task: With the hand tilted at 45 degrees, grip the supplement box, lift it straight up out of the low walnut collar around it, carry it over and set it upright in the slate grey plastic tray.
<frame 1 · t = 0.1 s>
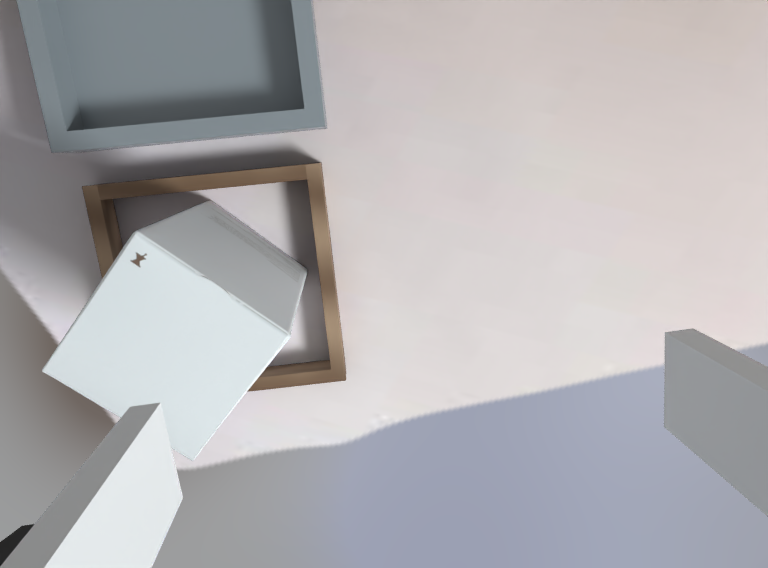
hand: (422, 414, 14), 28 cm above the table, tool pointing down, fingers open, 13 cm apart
supplement box: (227, 281, 42), resting in walnut collar
grey tray: (181, 5, 37), on the table
walnut collar: (227, 282, 42), on the table
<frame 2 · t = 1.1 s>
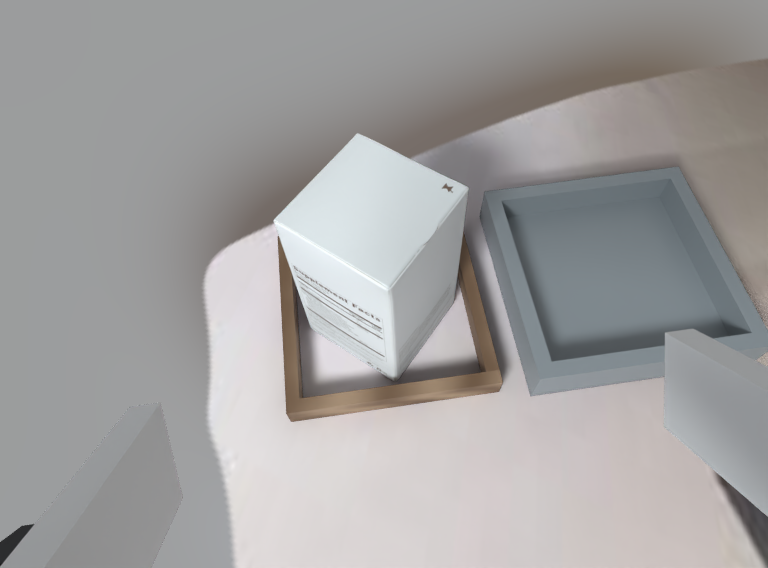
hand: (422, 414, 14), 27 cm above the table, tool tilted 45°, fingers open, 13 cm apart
supplement box: (381, 315, 47), resting in walnut collar
grey tray: (603, 283, 47), on the table
walnut collar: (381, 314, 47), on the table
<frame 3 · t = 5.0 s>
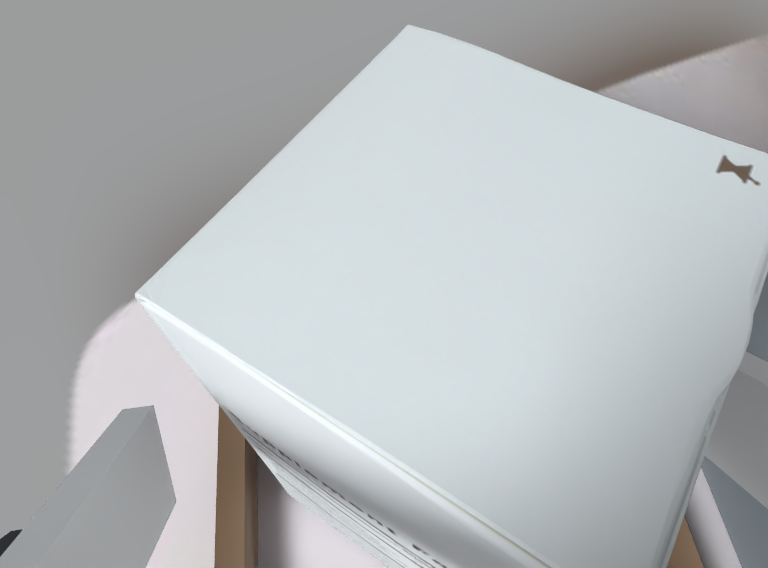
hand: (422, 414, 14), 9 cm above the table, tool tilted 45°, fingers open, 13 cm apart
supplement box: (436, 457, 22), resting in walnut collar, touching gripper
walnut collar: (433, 459, 22), on the table
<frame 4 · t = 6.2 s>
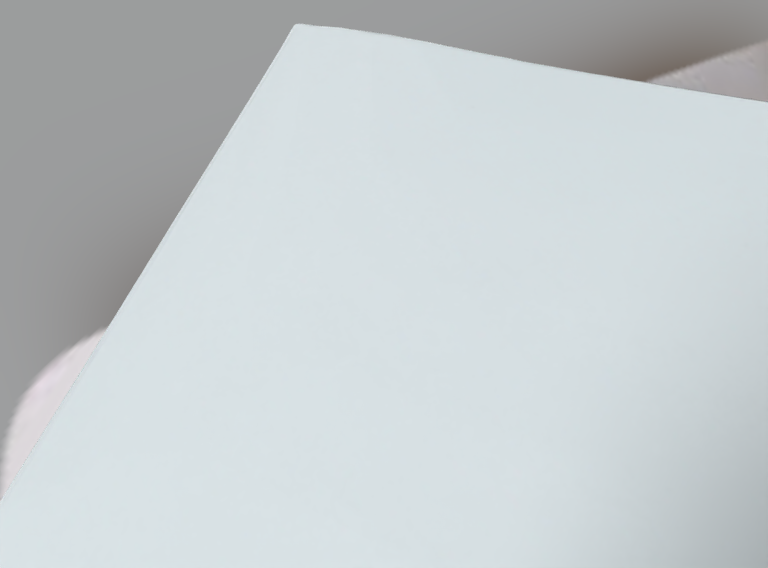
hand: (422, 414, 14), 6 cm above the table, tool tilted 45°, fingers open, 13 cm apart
supplement box: (439, 514, 19), resting in walnut collar
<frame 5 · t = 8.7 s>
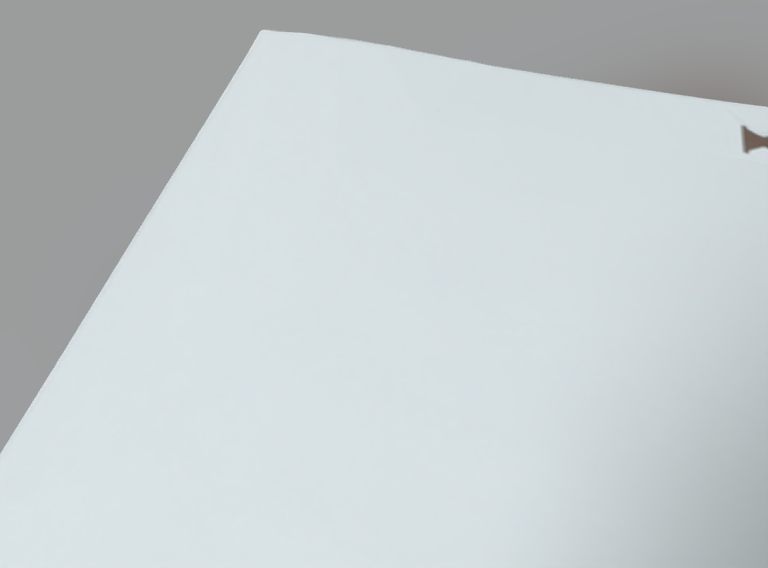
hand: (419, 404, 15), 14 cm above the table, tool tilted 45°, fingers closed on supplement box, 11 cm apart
supplement box: (423, 519, 19), point 8 cm above the table, touching gripper
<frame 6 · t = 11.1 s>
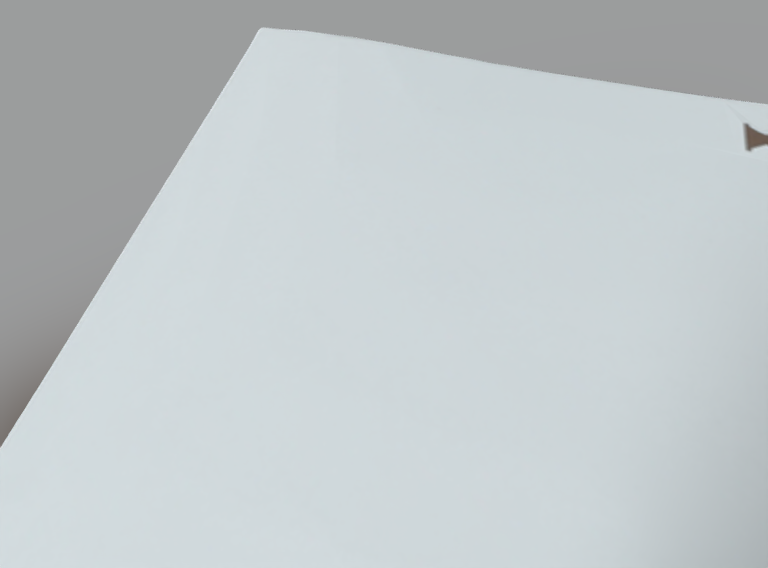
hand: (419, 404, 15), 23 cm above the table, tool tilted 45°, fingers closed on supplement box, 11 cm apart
supplement box: (424, 519, 19), point 17 cm above the table, touching gripper
when the fingers open (8 cm above the table, at t = 15.0 s): supplement box drops 1 cm, resting on grey tray.
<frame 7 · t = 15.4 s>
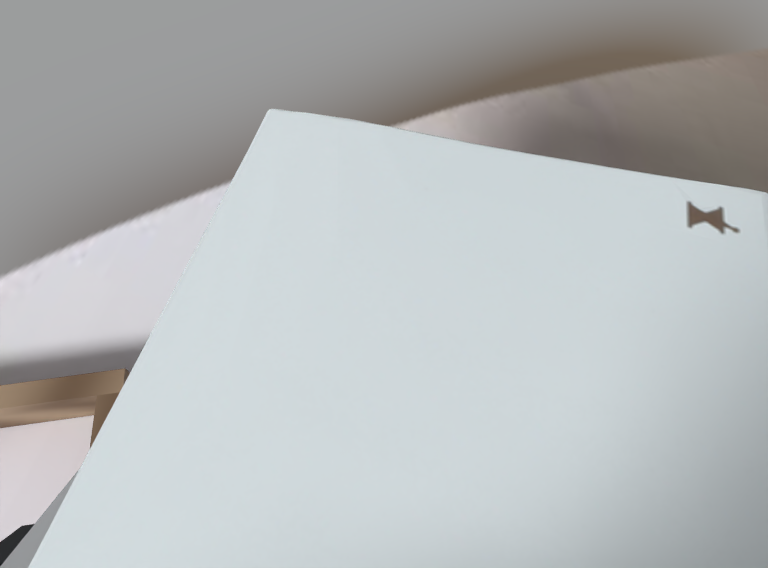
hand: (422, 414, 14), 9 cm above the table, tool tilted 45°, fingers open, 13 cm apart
supplement box: (420, 528, 20), point 1 cm above the table, touching grey tray
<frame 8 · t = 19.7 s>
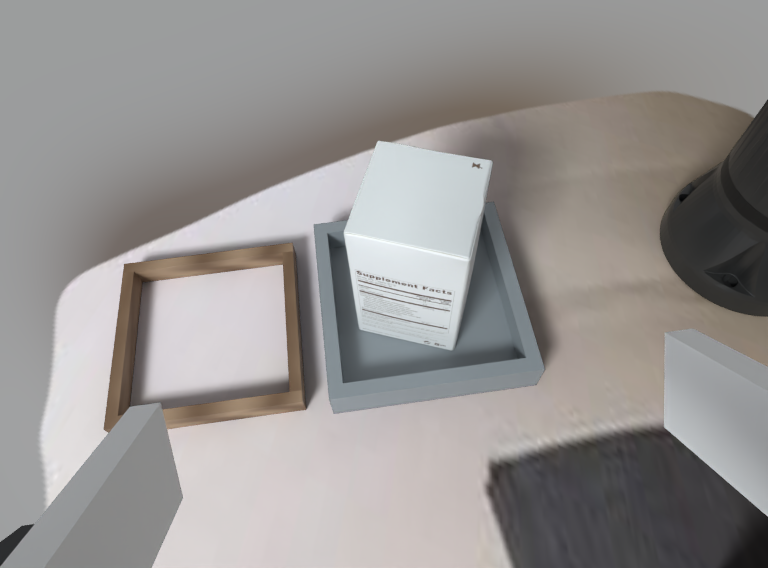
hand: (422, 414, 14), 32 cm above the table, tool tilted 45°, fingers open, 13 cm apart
supplement box: (416, 300, 51), point 1 cm above the table, touching grey tray
grey tray: (418, 309, 52), on the table
walnut collar: (213, 337, 51), on the table
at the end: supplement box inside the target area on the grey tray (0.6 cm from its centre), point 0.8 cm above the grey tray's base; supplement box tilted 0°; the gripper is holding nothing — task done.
